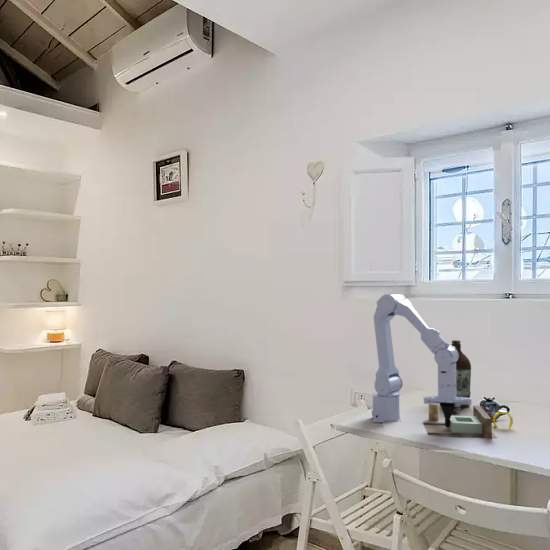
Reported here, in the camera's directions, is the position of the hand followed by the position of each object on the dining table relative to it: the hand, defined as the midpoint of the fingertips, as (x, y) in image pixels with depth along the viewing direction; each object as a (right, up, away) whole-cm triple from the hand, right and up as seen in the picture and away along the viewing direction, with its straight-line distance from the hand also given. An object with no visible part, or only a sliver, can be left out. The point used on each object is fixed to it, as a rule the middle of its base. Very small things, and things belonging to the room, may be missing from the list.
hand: (447, 426), depth 167 cm
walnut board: (+3, -2, 0) cm, 4 cm away
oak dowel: (-1, -2, +11) cm, 11 cm away
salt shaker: (+8, -2, +20) cm, 22 cm away
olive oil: (+15, -2, +33) cm, 36 cm away
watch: (+19, -2, +2) cm, 19 cm away
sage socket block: (+5, -1, -1) cm, 5 cm away
